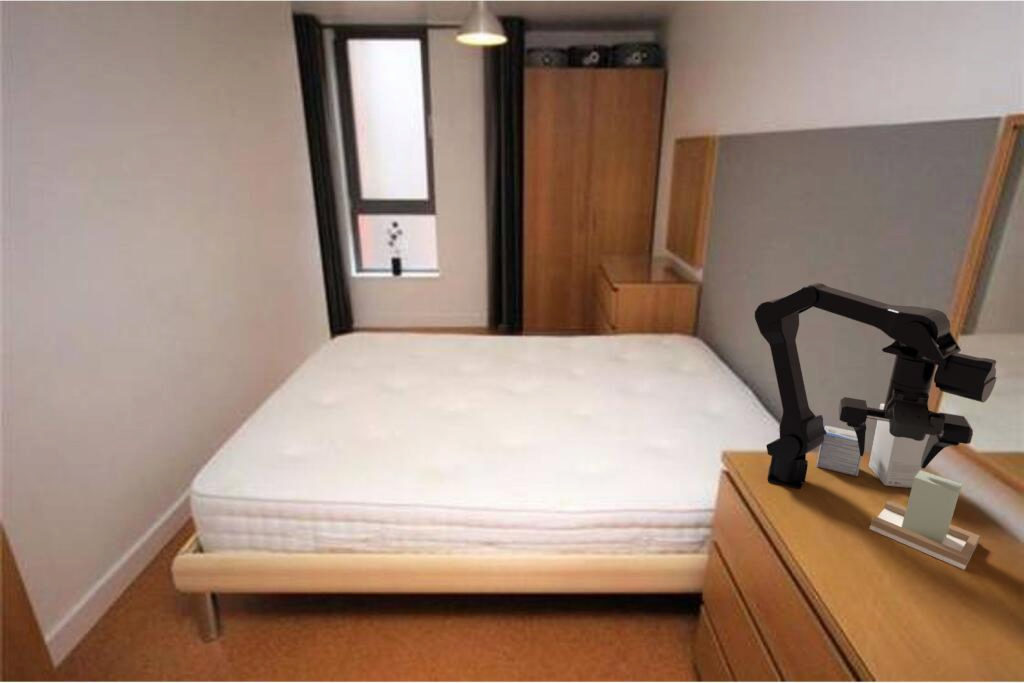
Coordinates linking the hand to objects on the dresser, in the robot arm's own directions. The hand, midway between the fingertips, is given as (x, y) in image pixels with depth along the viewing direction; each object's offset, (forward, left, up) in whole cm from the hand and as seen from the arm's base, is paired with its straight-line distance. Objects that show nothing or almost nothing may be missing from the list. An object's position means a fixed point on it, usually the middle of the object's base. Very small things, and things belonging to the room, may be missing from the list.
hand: (891, 461), depth 97 cm
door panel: (+7, -1, -12) cm, 14 cm away
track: (+7, -1, -13) cm, 15 cm away
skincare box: (+4, +19, -13) cm, 23 cm away
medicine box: (-6, +18, -13) cm, 23 cm away
